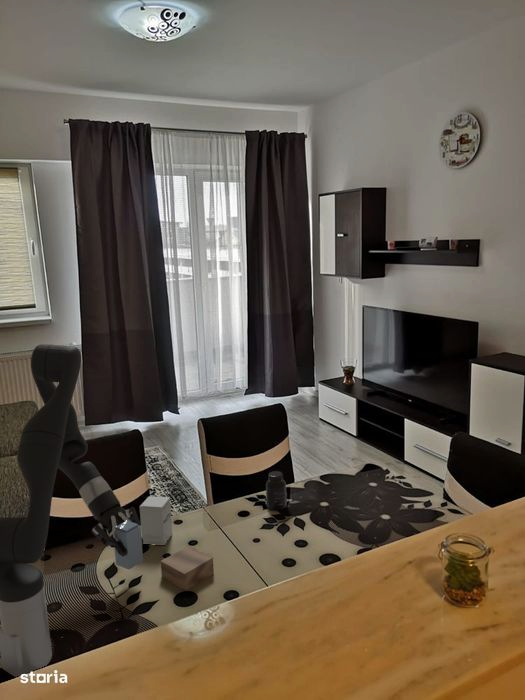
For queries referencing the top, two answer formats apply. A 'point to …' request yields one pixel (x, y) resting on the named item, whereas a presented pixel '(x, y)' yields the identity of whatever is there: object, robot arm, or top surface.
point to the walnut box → (187, 567)
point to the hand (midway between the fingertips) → (133, 549)
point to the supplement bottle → (276, 491)
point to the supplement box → (156, 520)
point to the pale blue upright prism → (129, 544)
